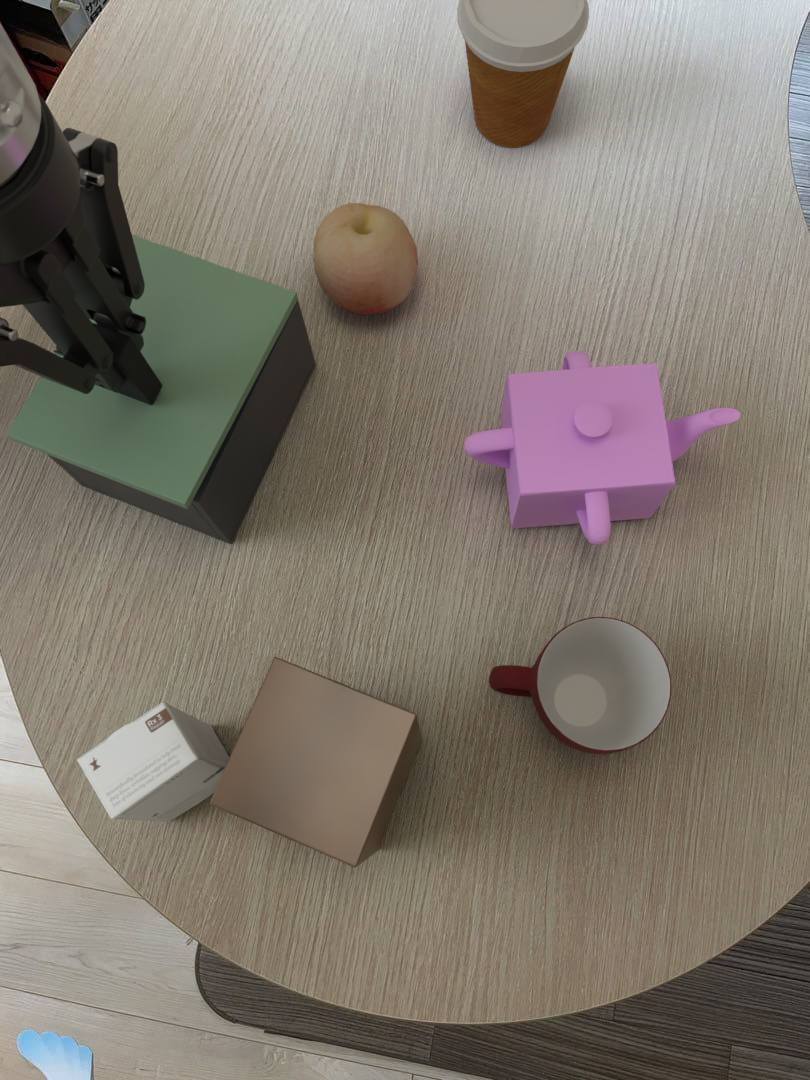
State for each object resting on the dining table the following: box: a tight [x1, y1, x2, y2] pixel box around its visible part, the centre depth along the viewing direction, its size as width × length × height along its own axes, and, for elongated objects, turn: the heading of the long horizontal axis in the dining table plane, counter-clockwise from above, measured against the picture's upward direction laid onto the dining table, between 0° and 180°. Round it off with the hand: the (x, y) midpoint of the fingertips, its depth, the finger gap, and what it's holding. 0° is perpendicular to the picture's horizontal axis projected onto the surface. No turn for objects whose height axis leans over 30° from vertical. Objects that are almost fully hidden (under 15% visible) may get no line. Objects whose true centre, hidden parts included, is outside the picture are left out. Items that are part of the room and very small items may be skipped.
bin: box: [46, 300, 317, 545], centre depth 67 cm, size 16×13×10 cm
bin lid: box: [5, 234, 299, 509], centre depth 62 cm, size 16×13×1 cm
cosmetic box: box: [76, 701, 230, 823], centre depth 59 cm, size 6×4×12 cm
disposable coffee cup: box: [456, 0, 590, 148], centre depth 73 cm, size 10×10×12 cm
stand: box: [209, 656, 423, 868], centre depth 56 cm, size 8×8×18 cm
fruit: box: [313, 202, 419, 315], centre depth 71 cm, size 8×8×8 cm
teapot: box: [463, 350, 741, 546], centre depth 65 cm, size 18×14×10 cm
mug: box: [488, 616, 672, 755], centre depth 61 cm, size 10×8×10 cm
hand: (138, 388), depth 60 cm, fingers closed
